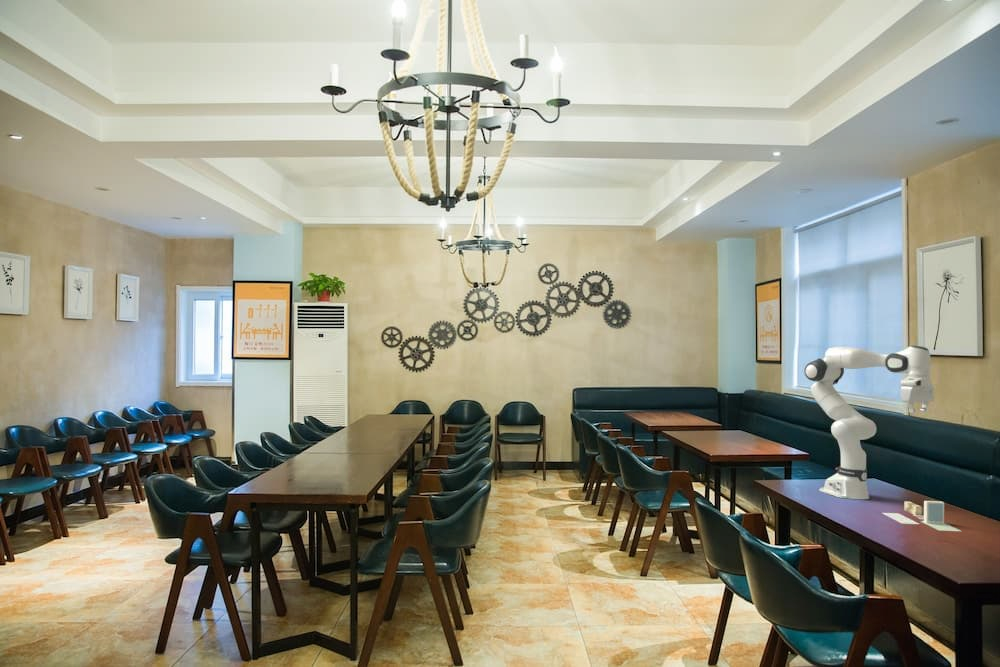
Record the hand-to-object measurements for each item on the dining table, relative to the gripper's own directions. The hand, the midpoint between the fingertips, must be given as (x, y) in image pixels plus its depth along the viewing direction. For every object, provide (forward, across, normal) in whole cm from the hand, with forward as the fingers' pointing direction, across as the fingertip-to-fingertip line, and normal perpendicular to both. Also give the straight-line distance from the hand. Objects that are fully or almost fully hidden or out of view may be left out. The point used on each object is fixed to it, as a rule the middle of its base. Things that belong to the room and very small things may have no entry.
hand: (917, 411), depth 283 cm
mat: (+46, +15, +18) cm, 51 cm away
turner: (+46, +6, +3) cm, 46 cm away
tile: (+45, +12, +14) cm, 49 cm away
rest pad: (+46, +19, +4) cm, 50 cm away
